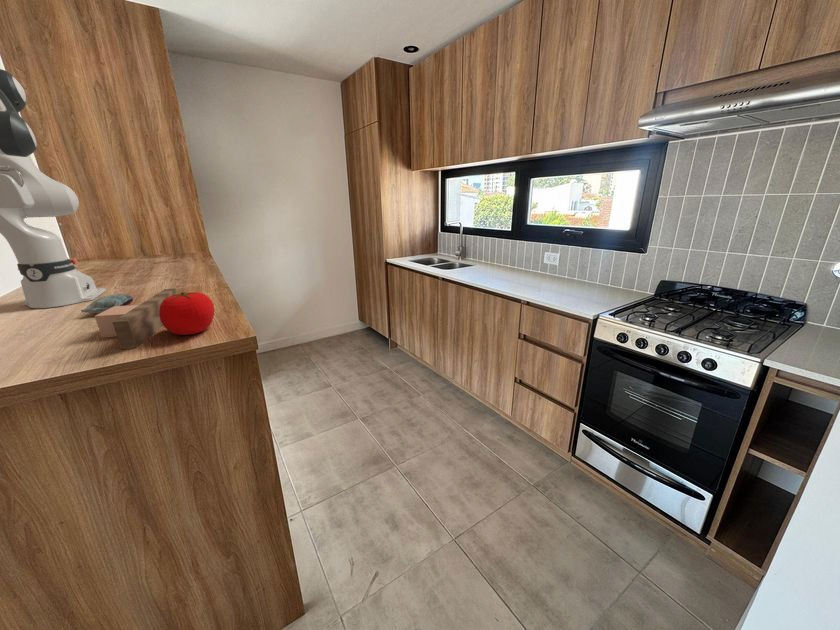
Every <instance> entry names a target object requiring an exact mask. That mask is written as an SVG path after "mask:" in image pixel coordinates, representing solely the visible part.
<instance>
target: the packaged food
mask: <svg viewBox="0 0 840 630" xmlns="http://www.w3.org/2000/svg"><path fill="white" fill-rule="evenodd" d="M133 298H134V297H132V295H127V294H117V293H116V294H110V295H105V296H102V297H99V298H96V299H94V300H93V302H91V303H90V304H89V305H87V306H86V307H85V308H83V309H80V312H81V313H85V314H86V313H88V314H95V315H98V314H100V313H102V312H104V311H106V310H108V309H110V308H112V307H114V306H129V305H130V304H132V303H133V301H134V299H133Z"/></svg>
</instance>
